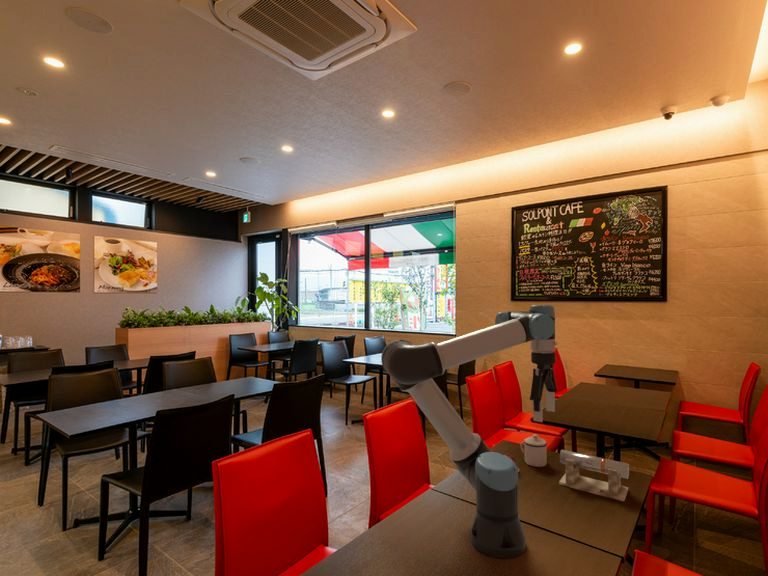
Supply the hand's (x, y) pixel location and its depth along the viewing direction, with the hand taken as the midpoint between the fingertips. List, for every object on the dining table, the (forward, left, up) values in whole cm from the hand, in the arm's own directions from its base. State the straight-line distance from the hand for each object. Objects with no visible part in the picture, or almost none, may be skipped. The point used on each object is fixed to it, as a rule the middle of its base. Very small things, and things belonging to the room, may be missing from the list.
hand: (544, 416), depth 134 cm
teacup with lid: (-16, +36, -31) cm, 50 cm away
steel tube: (+9, +25, -24) cm, 36 cm away
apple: (-21, +22, -31) cm, 43 cm away
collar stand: (+9, +26, -31) cm, 41 cm away
